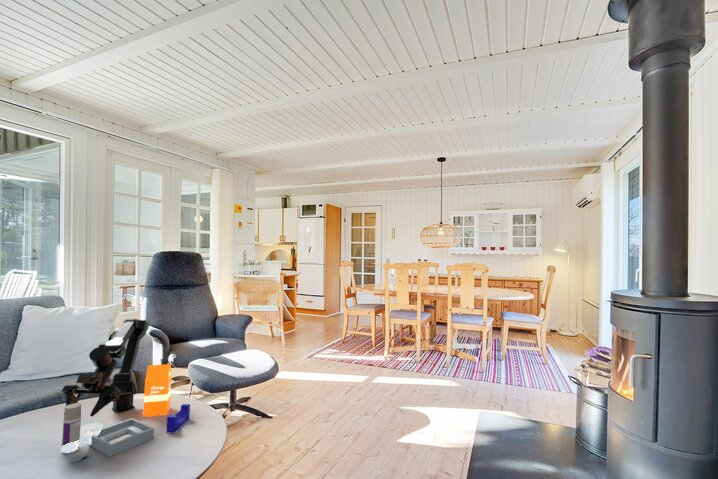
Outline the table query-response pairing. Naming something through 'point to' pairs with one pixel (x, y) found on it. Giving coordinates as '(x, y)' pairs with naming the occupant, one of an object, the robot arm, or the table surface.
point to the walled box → (131, 426)
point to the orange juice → (157, 390)
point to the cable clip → (178, 419)
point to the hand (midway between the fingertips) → (78, 415)
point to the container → (71, 423)
